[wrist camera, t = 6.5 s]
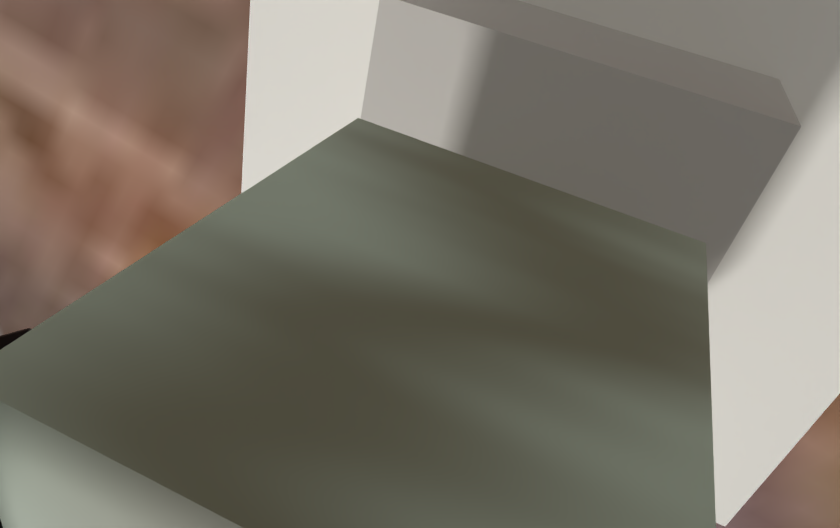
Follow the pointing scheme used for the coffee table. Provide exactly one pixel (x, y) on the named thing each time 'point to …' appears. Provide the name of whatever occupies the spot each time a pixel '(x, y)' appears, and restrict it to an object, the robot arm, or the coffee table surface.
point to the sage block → (375, 362)
